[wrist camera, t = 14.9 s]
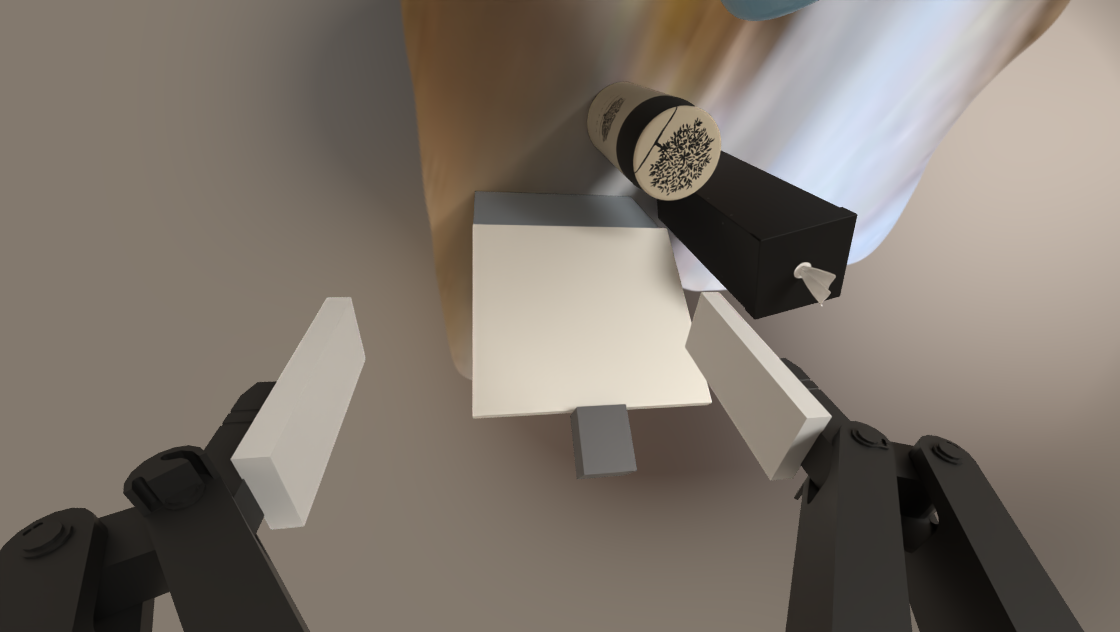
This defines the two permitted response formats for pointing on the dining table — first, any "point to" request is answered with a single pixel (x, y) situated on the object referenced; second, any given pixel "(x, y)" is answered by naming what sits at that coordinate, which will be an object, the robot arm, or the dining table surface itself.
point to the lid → (581, 332)
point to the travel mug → (655, 139)
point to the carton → (558, 210)
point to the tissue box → (763, 237)
